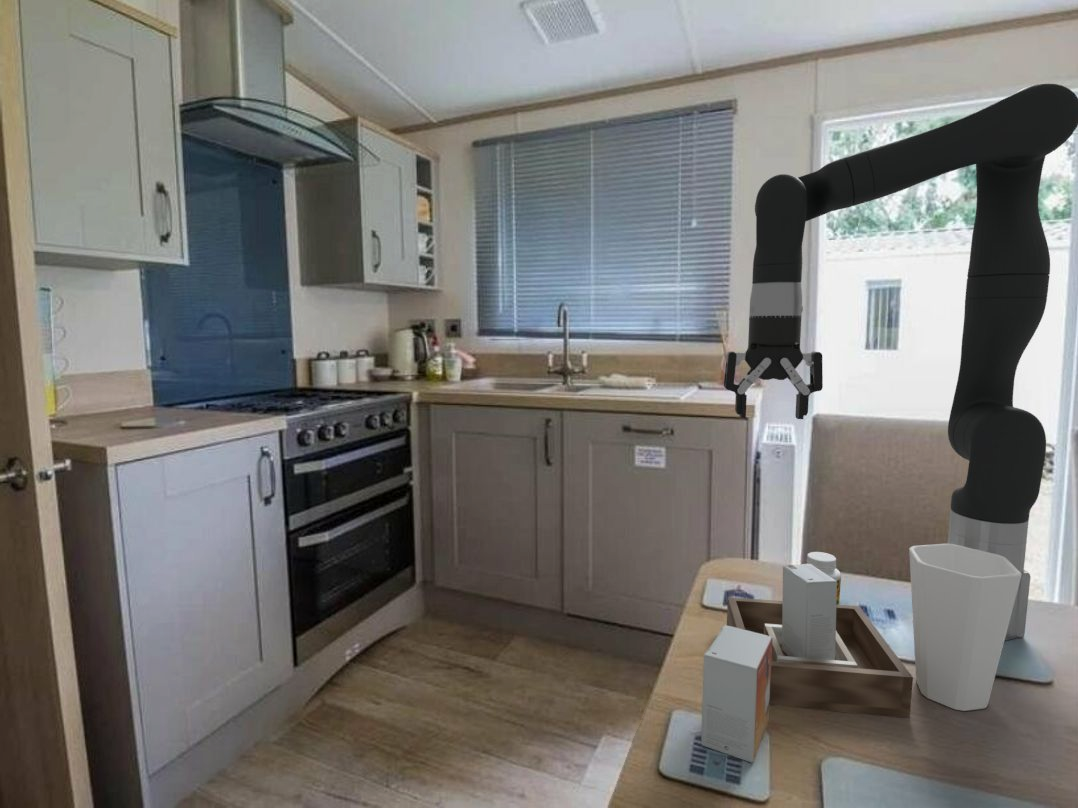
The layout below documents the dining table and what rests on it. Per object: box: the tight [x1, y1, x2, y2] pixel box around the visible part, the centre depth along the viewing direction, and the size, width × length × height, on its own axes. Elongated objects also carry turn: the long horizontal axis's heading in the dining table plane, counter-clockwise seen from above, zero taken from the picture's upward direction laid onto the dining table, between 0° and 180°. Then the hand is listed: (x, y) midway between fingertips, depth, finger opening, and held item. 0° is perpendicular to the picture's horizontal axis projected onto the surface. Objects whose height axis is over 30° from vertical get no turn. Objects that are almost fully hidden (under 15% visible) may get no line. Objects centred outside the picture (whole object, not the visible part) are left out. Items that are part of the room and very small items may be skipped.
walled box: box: [726, 596, 914, 719], centre depth 81 cm, size 18×18×5 cm
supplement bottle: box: [806, 551, 842, 605], centre depth 93 cm, size 6×6×10 cm
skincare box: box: [782, 563, 837, 660], centre depth 80 cm, size 6×4×12 cm
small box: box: [700, 624, 773, 764], centre depth 67 cm, size 8×6×10 cm
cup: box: [908, 543, 1022, 712], centre depth 74 cm, size 11×10×17 cm
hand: (770, 418), depth 97 cm, fingers open, 8 cm apart
